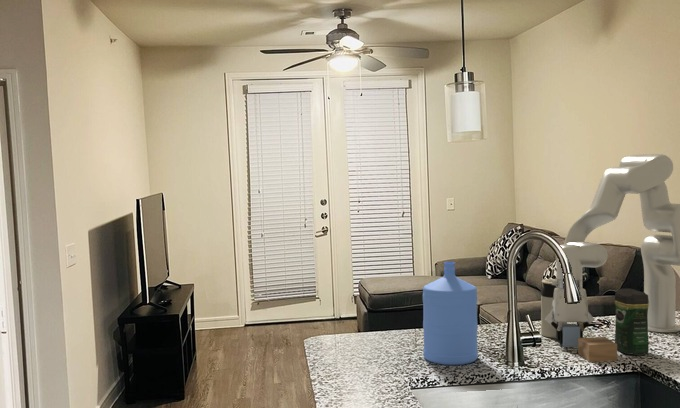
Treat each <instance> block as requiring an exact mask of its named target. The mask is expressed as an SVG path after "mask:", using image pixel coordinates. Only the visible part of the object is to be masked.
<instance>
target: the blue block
mask: <svg viewBox="0 0 680 408" xmlns="http://www.w3.org/2000/svg"><path fill="white" fill-rule="evenodd" d="M561 329H562V332H563V343H562V344H560V345H562V347H565V348H568V347H569V348H570V347H571V348H572V347H573V348H574V347H576V348H578V338H580V327H579V326H578V325H577V323H576V322H567V323H563V325H562V328H561Z"/></svg>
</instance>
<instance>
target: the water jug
mask: <svg viewBox="0 0 680 408" xmlns="http://www.w3.org/2000/svg"><path fill="white" fill-rule="evenodd" d="M443 264H444V267H443V273H444V274H443V276H442V277H440V278H438V279H435V280H433V281H432V282H429V283H427V284H426V285H424V286H423V288H422V303H423V304H422V305H423V308H422V309H423V310H422V311H423V313H422V314H423V316H422V319H423V321H422V328H423V349H422V351H423V352H422V354H423V357H424V359H426V360H427V361H428V362H430V363H434V364H439V365H445V366H446V365H447V366H460V365H461V366H462V365H466V364H467V365H468V364H471V363H473V362H475V361H477V359H478V356H479V355H478V354H479V350H478V326H479V324H478V293H477V291H478V290H477V286H475V285H473V284H472V283H469V282H468V281H465V280H463V279H461V278H459V277H457V276H456V266H455V264H456V262H454V261H445V262H443Z"/></svg>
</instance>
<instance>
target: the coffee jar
mask: <svg viewBox="0 0 680 408" xmlns="http://www.w3.org/2000/svg"><path fill="white" fill-rule="evenodd" d="M614 306H615V327H614V328H615V329H614V343H616V344H617V352H618V351H619V352H621V353H623V354H627V355H633V356H634V355H635V356H643V355H647V354H648V353H649V351H650V349H649V348H650V347H649V342H650V341H649V331H648V307H649V299H648V295H647V294H645V293H644V291H639V290H637V289H633V288H628V287H627V288H618V289H617V290H616V291H615V294H614Z"/></svg>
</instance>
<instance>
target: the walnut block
mask: <svg viewBox="0 0 680 408" xmlns="http://www.w3.org/2000/svg"><path fill="white" fill-rule="evenodd" d="M577 353H578V355H579V356H580V355H581V357H582V358H584V360H586V361H588V362H589V363H590V362H617V361H618V350H617V344H616V343H615V341H612V340H611V339H609V338H607V337H606V336H597V337H596V336H594V337H593V336H592V337H589V336H587V337H583V338H578V347H577Z"/></svg>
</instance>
